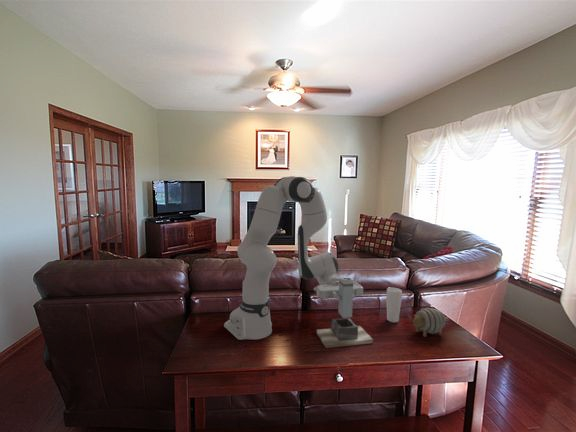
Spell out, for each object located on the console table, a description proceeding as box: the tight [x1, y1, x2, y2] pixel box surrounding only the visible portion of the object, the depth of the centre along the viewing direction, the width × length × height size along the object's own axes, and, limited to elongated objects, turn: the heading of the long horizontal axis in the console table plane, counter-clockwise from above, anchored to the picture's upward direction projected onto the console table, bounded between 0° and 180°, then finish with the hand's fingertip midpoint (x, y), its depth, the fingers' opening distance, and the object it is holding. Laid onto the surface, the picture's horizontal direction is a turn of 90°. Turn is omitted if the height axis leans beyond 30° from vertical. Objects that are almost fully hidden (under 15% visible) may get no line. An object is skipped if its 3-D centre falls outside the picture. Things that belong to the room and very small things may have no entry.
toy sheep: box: [412, 307, 450, 338], centre depth 127 cm, size 11×17×11 cm, turn 107°
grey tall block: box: [337, 280, 354, 318], centre depth 121 cm, size 5×4×14 cm
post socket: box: [316, 317, 374, 349], centre depth 122 cm, size 12×20×6 cm, turn 102°
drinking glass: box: [385, 287, 403, 323], centre depth 138 cm, size 7×7×15 cm
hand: (346, 297), depth 120 cm, fingers closed on grey tall block, 4 cm apart
